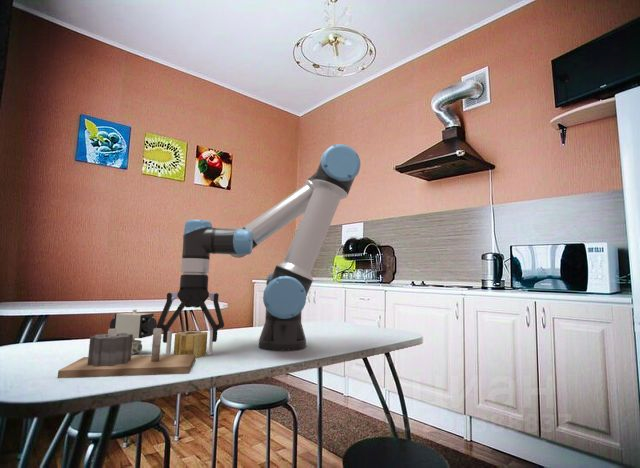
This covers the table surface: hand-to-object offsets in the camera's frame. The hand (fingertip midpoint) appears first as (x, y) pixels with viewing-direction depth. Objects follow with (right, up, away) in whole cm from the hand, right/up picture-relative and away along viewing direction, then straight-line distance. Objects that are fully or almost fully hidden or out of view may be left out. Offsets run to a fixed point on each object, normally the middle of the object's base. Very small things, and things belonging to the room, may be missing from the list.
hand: (189, 354), depth 98 cm
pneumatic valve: (-17, 0, +1) cm, 17 cm away
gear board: (-8, +2, -15) cm, 17 cm away
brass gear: (0, 0, 0) cm, 0 cm away
